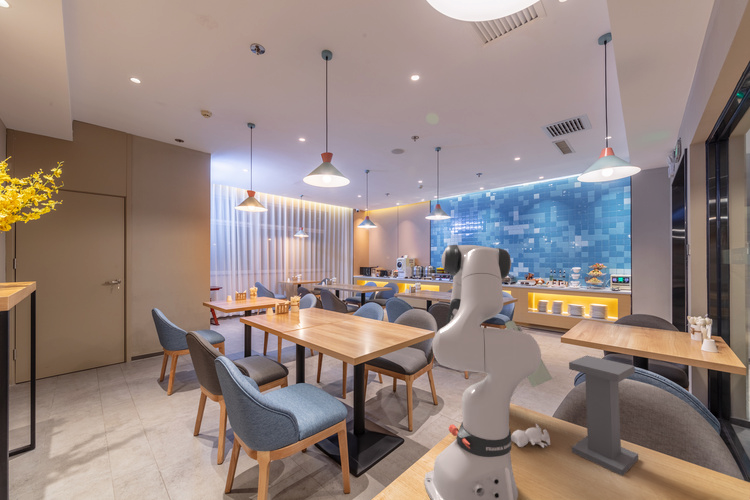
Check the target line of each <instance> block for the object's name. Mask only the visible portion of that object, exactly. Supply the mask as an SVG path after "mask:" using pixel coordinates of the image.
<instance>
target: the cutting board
mask: <svg viewBox="0 0 750 500" xmlns="http://www.w3.org/2000/svg"><path fill="white" fill-rule="evenodd" d="M504 325H505V327H506V329H511V328H514V329H515V330H516V331H519V330H518V328H517V327H518V326H517V325H516V322H515V321H514V320H508V321H507V322H505V323H504ZM526 379H527V380H528V382H529V383H530V385H531V387H532V388H533V387H537V386H539V385H543V384H544V383H547V382H548V381H551V380H553V376H552V375H551V373H550V371H549V370H548V368H547V366H546V364H545V362H544V361H543V359H542V358H541V362H540V365H539V367H538V369H537V370H536V371H535V372H534V373H533V374H532V375H530V376H528V377H527V378H526Z"/></svg>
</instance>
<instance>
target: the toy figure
mask: <svg viewBox="0 0 750 500" xmlns="http://www.w3.org/2000/svg"><path fill="white" fill-rule="evenodd" d="M542 441H544V442H545V443H544V442H542ZM511 442H513V443H515V444H516V445H517V446H518V447H519V448H524V447H525V446H526V445H528V443H531V445H532V446H535V445H538V446H540V447H541V448H543V449H544V448H545V447H548V446H550V445H551V439H550V433H549V432H548V430H547V428H544V429H543V430H542V428H541V426H540V425H538V422H537V423H535V427H529V428H527V429H526V430H522V429H518V428H516V430H514V431H513V433H511Z"/></svg>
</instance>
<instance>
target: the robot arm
mask: <svg viewBox="0 0 750 500" xmlns="http://www.w3.org/2000/svg"><path fill="white" fill-rule="evenodd" d="M441 265H442V268H443V271H444V273H446V274H447V275H450V276H453V279H452V286H451V287H452V289H451V296H450V302H449V307H448V312H447V316H446V321H445V325H444V326H443V327H441V328H439V329H438V331H437V332H436V333H435V334H434V336H433V339H432V340H433V341H432V345H431V346H432V352H433V356H434V357H435V360H436V361H437V363H438V364H439V365H440V366H443V367H446V368H449V369H453V370H457V371H463V372H465V371H466V372H472V373H473V372H475V373H483V374H487V375H486V376H485V378H483V380H480V381H479V382H476V383H473V384H471V385H469V386H468V387H467V388H466V389H465V390H464V391H463V394H462V399H461V400H462V404H461V407H462V409H461V411H462V421H461V423H460V426H459V428H457V427H456V425H455V424H450V425H449V427H448V431H449V433H451V435H452V436H453V437H456V438H455V440H453V441H452V442H451V443H450V444H448V446H446V447H445V448H444V449H443V450H442V451H441V452H440V453H439V454H437V456H436V457H435V460H434V465H433V469H432V470H430V471H427V472H425V475H424V480H423V481H424V486H425V491H426V493H427V495H428V496H429V499H431V500H518V498H519V491H518V486H517V484H516V480H515V477H514V471H513V464H512V456H511V451H512V446H513V445H512V442H513V441H511V436H512V432H511V429H510V409H511V408H510V407H511V402H512V401H511V400H512V397H513V394H514V393H515V391H516V389H517V387H519V386H520V384H521V383H522V382H523V381H524V380H526V379H528V378H527V377H528V376H530V375H532V374H533V373H534V372H535V371H536V370H537V369H538V367H539V365H540V362H541V359H542V353H541V349H540V345H539V343H538V342H537V340H536V339H535V338H534V337H533V335H531V334H530V333H527V332H523V331H524V329H523V327H522V326H517V328H518V330H519V331H516V330H515V329H514V328H511V329H507V328H492V327H491V328H490V327H483V326H481V325H482V324H483V323H484V322H485V321H488V320H490V319H492V318H494V317H496V316H497V315H498V314H500V313H501V312H502V310H503V307H504V293H503V292H504V291H503V281H502V280H504V279H505V278H507V277H508V276H509V273H510V272H511V271H510V270H511V268H512V260H511V255H510V253H509V252H508V250H506V249H503V248H500V247H496V248H495V247H491V246H484V245H474V244H460V245H458V244H450V245H447V246H446V247H444V251H443V253H442V255H441Z"/></svg>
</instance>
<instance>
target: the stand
mask: <svg viewBox="0 0 750 500" xmlns="http://www.w3.org/2000/svg"><path fill="white" fill-rule="evenodd" d="M568 368H569V370H571V371H574V372H579V373H583V374H585V375H584V377H585V403H586V432H587V433H586V434H587V435H585V437H583V438H582V439H580V440H579V441H578V442H576V443H575V444H574V445H572V446H571V452H572V453H573V454H575V455H577V456H579V457H580V458H583V459H586V460H587V461H590V462H591V463H594V464H596V465H598V466H601V467H602V468H604V469H606V470H609V471H611V472H613V473H615V474H617V475H619V476H621V477H623V476H625V474H626V473H627V471H629V470H630V469H631V467H633V466H634V465H635V463H636V462H637V461H638V460H639V453H637V452H634V451H632V450H630V449H628V448H625V447H622V443H621V442H622V441H621V420H620V419H621V418H620V416H621V415H620V392H619V391H620V390H619V389H620V388H619V383H620V382H622V381H624V380H625V379H627V378H629V377H631V376H632V375H634V374H635V371H636V369H635V365H632V364H628V363H627V364H626V363H623V362H620V361H613V360H609V359H605V358H600V357H595V356H592V355H591V356H590V355H584V356H582V357H580V358H577V359H574V360H571V361H569V362H568Z"/></svg>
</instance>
